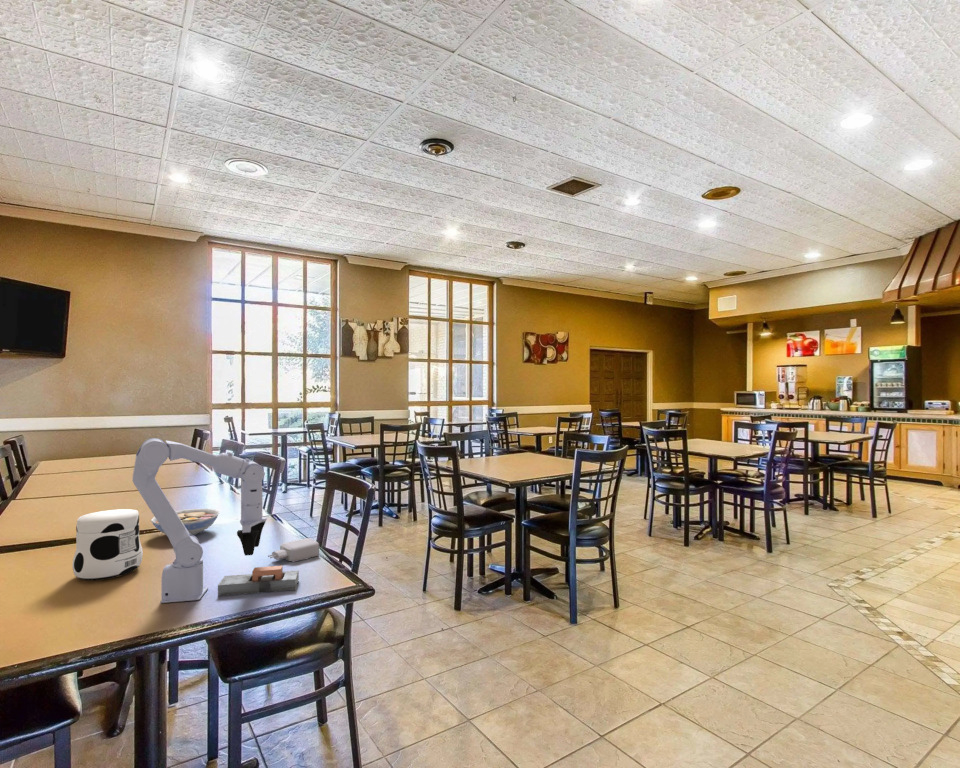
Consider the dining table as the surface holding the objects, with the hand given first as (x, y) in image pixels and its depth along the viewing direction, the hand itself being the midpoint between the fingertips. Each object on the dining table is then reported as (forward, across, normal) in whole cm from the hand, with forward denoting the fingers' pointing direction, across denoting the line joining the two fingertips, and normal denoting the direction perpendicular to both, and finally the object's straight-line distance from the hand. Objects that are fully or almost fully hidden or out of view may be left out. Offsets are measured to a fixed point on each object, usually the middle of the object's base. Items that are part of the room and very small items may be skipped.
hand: (251, 550), depth 150 cm
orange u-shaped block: (+9, -5, -5) cm, 12 cm away
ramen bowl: (+10, +57, +35) cm, 68 cm away
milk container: (+10, +17, +44) cm, 48 cm away
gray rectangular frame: (+9, -4, -3) cm, 11 cm away
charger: (+10, +20, -8) cm, 24 cm away
